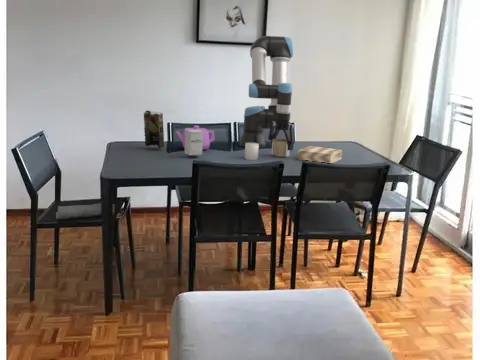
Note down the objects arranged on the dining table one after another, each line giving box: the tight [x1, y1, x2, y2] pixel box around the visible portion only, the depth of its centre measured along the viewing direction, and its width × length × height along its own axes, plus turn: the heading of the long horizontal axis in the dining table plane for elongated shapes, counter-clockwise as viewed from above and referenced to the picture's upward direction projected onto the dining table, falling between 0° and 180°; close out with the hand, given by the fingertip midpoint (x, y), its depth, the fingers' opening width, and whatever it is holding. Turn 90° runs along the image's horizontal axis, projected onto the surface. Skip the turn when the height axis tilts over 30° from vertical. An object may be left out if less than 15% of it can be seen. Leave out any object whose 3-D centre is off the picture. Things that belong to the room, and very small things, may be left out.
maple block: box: [297, 145, 343, 164], centre depth 305 cm, size 18×18×5 cm
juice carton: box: [143, 110, 165, 149], centre depth 314 cm, size 20×10×6 cm
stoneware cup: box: [244, 142, 260, 161], centre depth 296 cm, size 7×7×8 cm
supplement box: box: [184, 130, 203, 156], centre depth 300 cm, size 7×7×13 cm
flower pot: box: [273, 138, 287, 158], centre depth 307 cm, size 9×9×9 cm
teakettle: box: [175, 125, 215, 150], centre depth 320 cm, size 17×17×12 cm
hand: (280, 154), depth 307 cm, fingers closed on flower pot, 8 cm apart
